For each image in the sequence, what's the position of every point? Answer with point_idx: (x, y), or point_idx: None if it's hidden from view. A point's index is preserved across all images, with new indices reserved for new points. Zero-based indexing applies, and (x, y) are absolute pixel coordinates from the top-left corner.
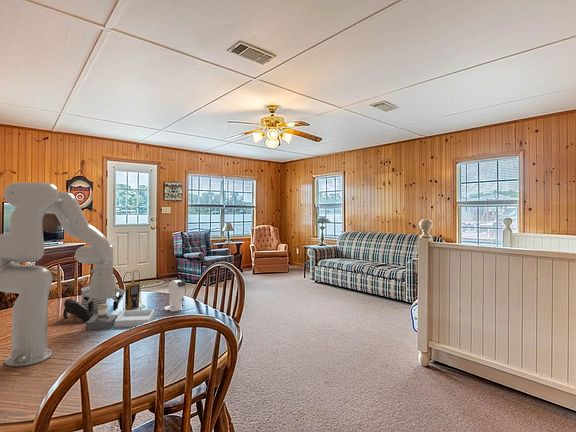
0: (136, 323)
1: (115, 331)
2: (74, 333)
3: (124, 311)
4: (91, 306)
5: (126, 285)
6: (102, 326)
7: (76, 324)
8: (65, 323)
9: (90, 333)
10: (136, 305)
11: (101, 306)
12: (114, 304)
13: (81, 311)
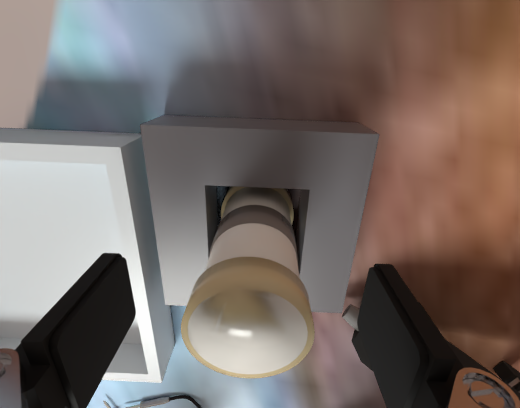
0: None
1: (96, 23)
2: (436, 36)
3: (148, 366)
4: (392, 321)
5: None
6: (228, 121)
7: (435, 259)
8: (504, 290)
9: (300, 4)
10: None
11: (244, 282)
12: (57, 309)
13: None
